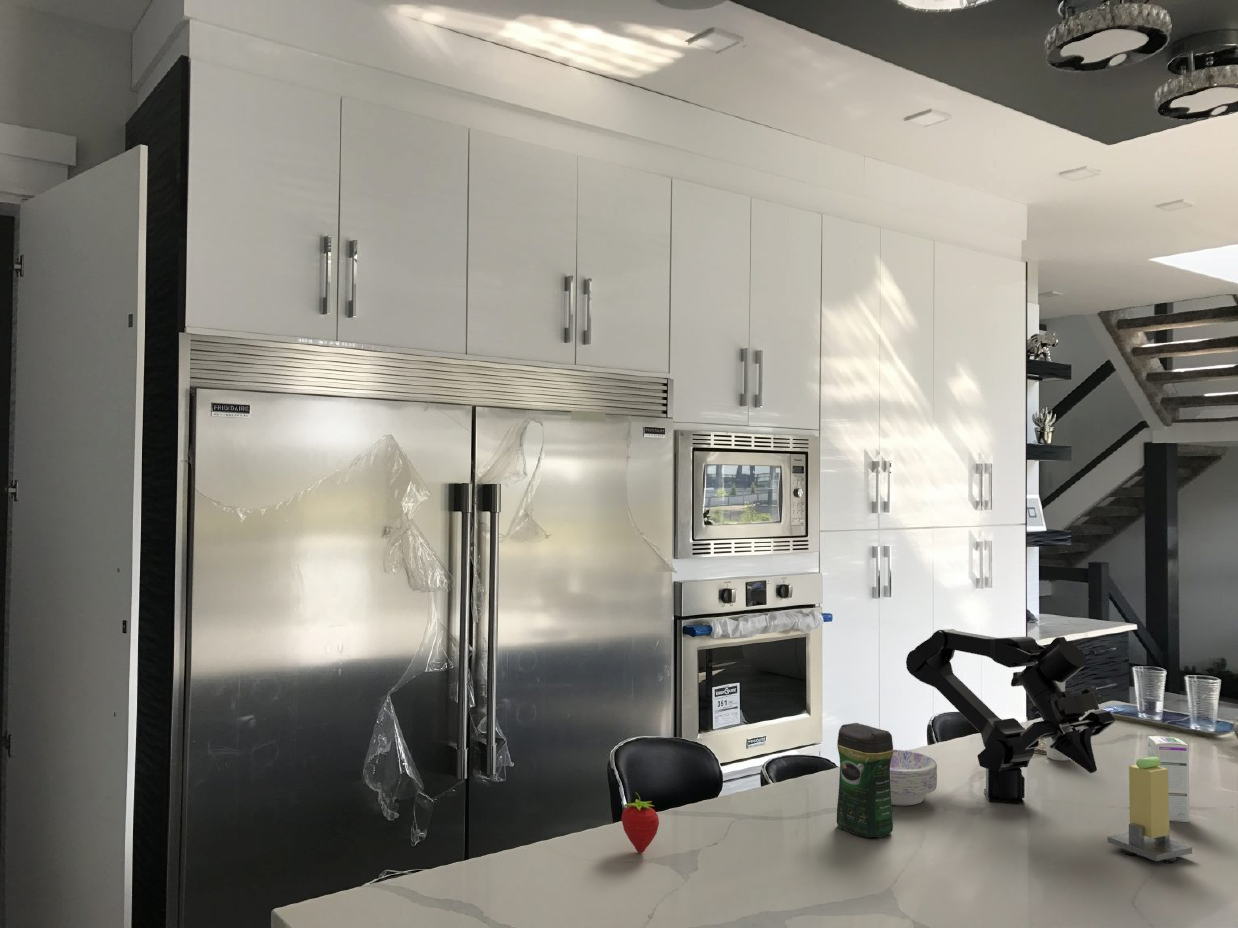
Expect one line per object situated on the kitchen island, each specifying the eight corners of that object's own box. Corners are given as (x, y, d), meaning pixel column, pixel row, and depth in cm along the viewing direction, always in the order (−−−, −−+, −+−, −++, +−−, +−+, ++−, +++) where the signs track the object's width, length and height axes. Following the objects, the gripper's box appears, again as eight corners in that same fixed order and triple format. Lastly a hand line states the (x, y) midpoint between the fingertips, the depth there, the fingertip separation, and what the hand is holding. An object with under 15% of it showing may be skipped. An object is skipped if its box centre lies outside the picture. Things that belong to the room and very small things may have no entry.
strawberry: (633, 863, 154) (634, 801, 154) (613, 847, 160) (615, 787, 161) (666, 858, 156) (667, 796, 156) (645, 842, 163) (646, 783, 163)
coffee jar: (900, 834, 169) (901, 728, 170) (870, 842, 165) (871, 734, 165) (858, 818, 177) (860, 717, 178) (828, 825, 173) (830, 722, 173)
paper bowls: (851, 804, 185) (852, 763, 185) (862, 782, 199) (863, 744, 199) (934, 816, 179) (934, 773, 179) (939, 792, 193) (939, 753, 193)
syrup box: (1190, 822, 178) (1191, 744, 178) (1156, 819, 179) (1156, 742, 180) (1179, 812, 184) (1179, 736, 184) (1146, 809, 185) (1146, 734, 185)
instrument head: (1129, 830, 163) (1128, 756, 164) (1147, 827, 165) (1146, 753, 165) (1151, 838, 159) (1150, 762, 160) (1169, 834, 161) (1167, 759, 162)
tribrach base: (1107, 848, 164) (1107, 817, 164) (1142, 840, 168) (1142, 811, 168) (1156, 867, 156) (1156, 835, 156) (1192, 859, 160) (1192, 827, 160)
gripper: (1032, 679, 173) (1082, 759, 164) (1107, 667, 180) (1159, 743, 171) (1000, 709, 181) (1045, 787, 171) (1073, 696, 188) (1120, 771, 179)
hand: (1094, 771), depth 173 cm, fingers closed
